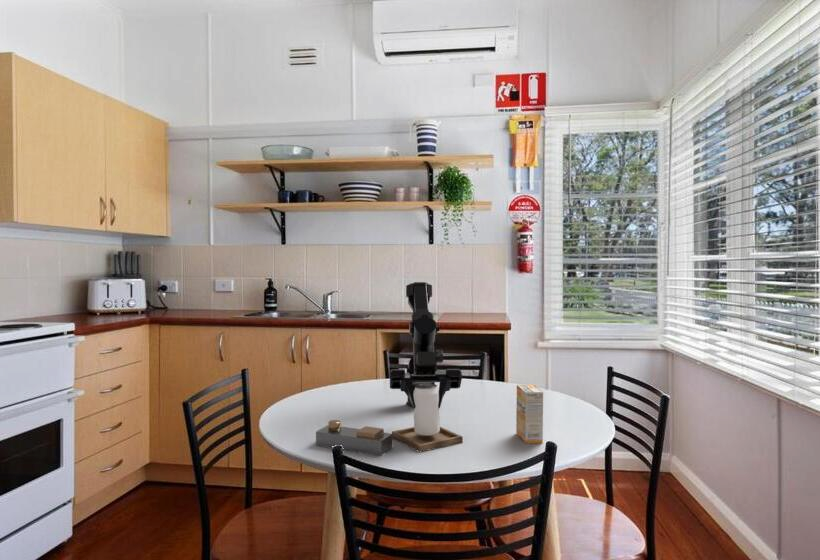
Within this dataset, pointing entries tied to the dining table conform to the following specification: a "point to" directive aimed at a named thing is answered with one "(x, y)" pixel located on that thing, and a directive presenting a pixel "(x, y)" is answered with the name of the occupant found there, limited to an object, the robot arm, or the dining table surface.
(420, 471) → the dining table surface
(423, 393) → the can
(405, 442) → the walnut tray
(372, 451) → the iron block
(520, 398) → the supplement box
